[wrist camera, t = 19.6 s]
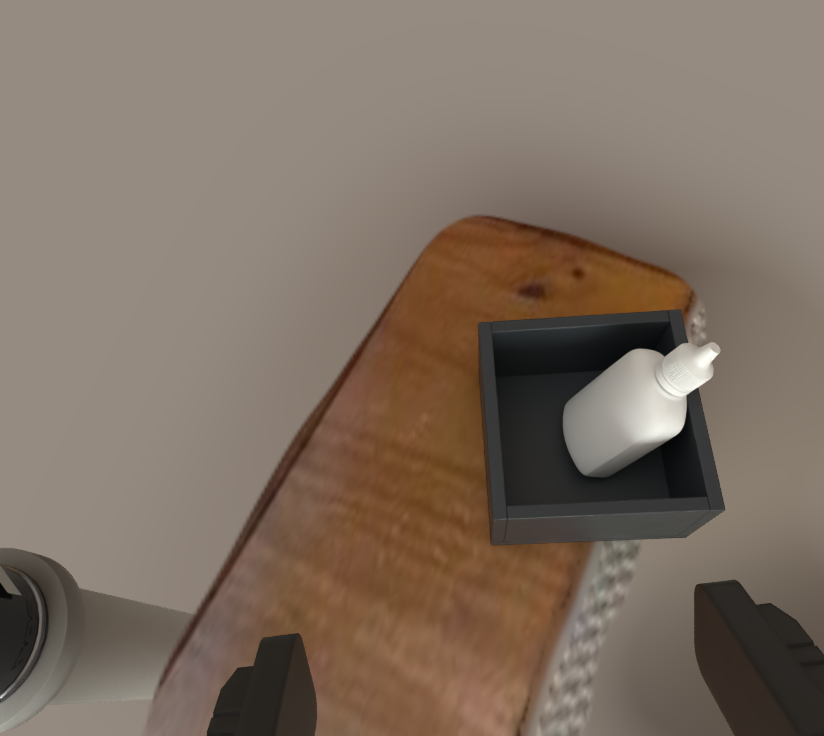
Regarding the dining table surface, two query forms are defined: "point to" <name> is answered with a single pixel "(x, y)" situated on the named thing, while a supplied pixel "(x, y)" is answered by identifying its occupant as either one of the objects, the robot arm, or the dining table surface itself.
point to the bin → (546, 448)
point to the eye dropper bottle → (633, 407)
